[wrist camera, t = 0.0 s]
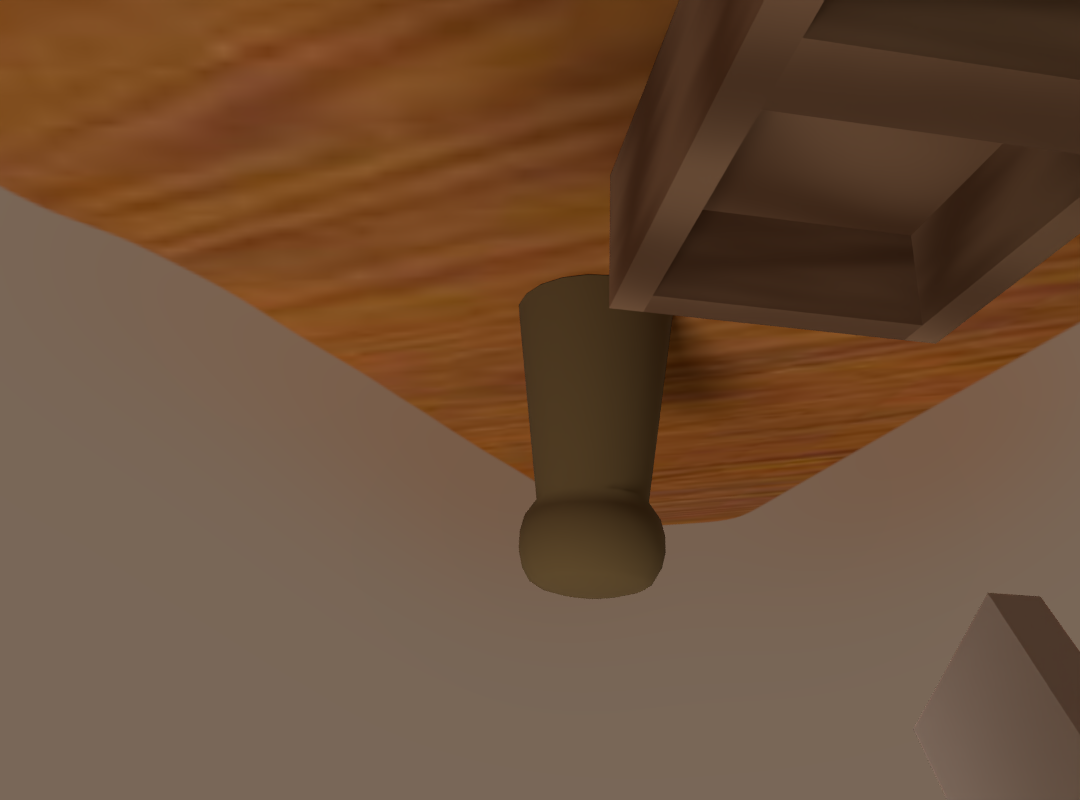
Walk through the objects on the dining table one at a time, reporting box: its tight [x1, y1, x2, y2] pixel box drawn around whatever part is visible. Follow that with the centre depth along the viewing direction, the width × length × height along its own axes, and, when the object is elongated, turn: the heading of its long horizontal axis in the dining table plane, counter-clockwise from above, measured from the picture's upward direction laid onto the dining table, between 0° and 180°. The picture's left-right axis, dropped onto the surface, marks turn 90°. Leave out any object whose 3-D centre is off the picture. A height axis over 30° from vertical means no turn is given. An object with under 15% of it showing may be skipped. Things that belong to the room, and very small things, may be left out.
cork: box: [519, 275, 673, 599], centre depth 35 cm, size 6×6×11 cm
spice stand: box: [609, 0, 1080, 343], centre depth 19 cm, size 20×10×4 cm, turn 171°
